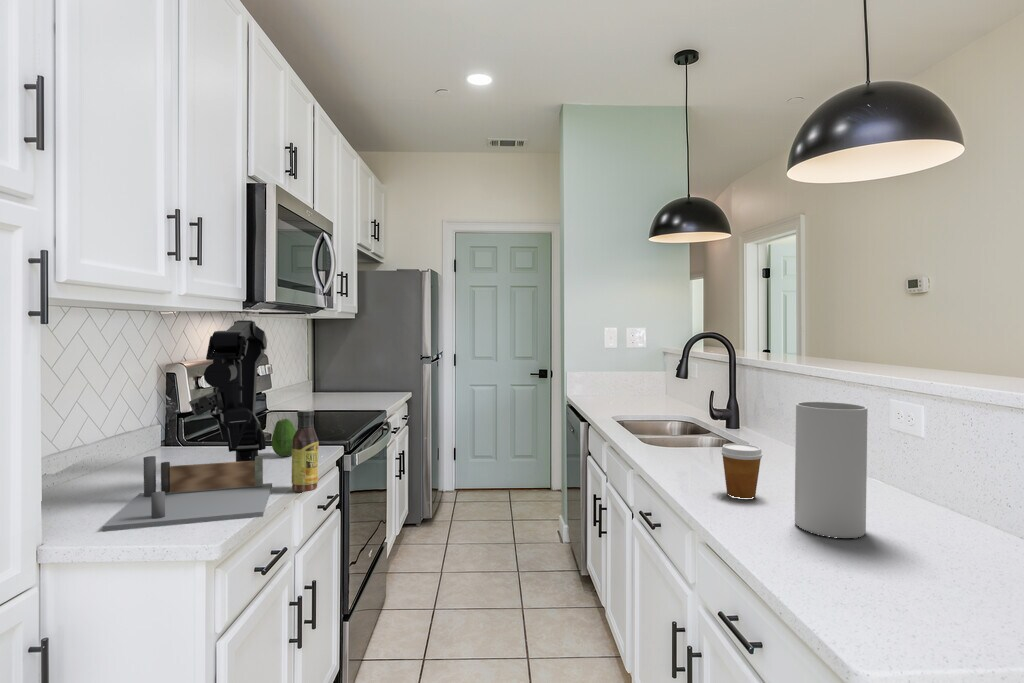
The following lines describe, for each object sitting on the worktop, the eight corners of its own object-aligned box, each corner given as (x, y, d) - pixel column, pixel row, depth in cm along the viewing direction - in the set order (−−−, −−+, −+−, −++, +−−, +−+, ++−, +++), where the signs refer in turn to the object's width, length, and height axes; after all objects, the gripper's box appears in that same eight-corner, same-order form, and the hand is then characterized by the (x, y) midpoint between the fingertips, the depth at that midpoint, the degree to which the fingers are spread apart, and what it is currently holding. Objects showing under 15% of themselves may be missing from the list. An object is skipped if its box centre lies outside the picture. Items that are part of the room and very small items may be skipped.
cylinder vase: (783, 518, 120) (785, 401, 119) (843, 519, 119) (844, 402, 119) (813, 540, 107) (815, 409, 107) (880, 541, 107) (881, 410, 107)
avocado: (276, 454, 181) (275, 417, 180) (301, 453, 181) (301, 416, 181) (268, 459, 173) (267, 421, 172) (294, 459, 174) (294, 420, 173)
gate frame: (140, 497, 133) (139, 455, 133) (272, 486, 143) (272, 447, 143) (102, 531, 111) (102, 480, 110) (263, 516, 120) (262, 469, 120)
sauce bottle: (309, 493, 137) (309, 412, 136) (286, 492, 138) (286, 411, 138) (323, 486, 143) (323, 408, 143) (301, 485, 144) (301, 408, 144)
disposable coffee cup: (713, 496, 136) (714, 447, 135) (729, 488, 143) (729, 441, 142) (754, 505, 129) (754, 453, 129) (768, 496, 136) (768, 446, 136)
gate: (160, 493, 131) (159, 463, 131) (162, 491, 133) (161, 462, 133) (262, 485, 138) (262, 457, 138) (262, 483, 140) (262, 455, 140)
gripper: (184, 380, 141) (186, 442, 141) (199, 388, 126) (200, 457, 127) (233, 377, 148) (234, 436, 148) (252, 385, 133) (253, 450, 134)
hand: (229, 444), depth 139 cm, fingers open, 9 cm apart
